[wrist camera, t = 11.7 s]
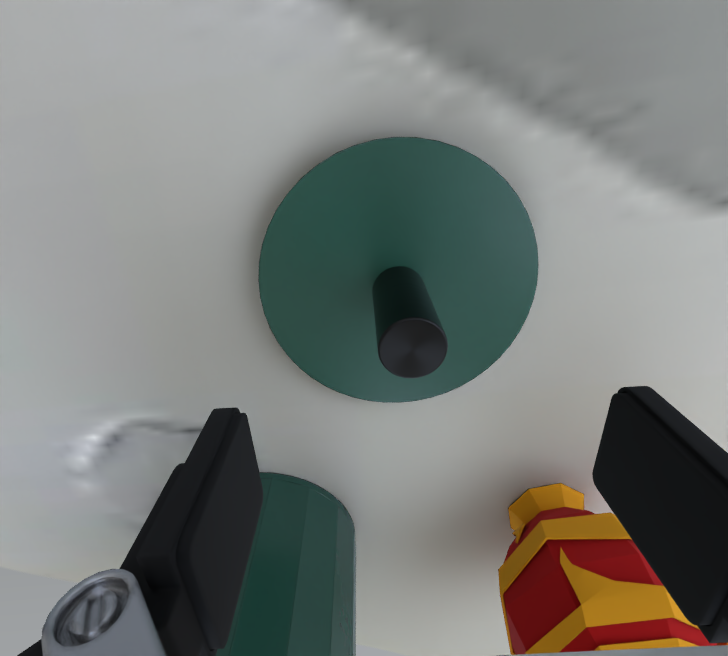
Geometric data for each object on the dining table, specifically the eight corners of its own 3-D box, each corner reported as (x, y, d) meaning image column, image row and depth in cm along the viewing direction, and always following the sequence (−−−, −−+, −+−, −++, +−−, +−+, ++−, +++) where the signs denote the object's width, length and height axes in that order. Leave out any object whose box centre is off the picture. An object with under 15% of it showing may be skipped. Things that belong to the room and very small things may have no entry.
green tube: (160, 477, 25) (-7, 776, 14) (349, 467, 25) (342, 762, 14) (203, 590, 31) (110, 875, 19) (359, 583, 30) (361, 865, 19)
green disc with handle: (240, 145, 17) (176, 156, 11) (548, 127, 17) (654, 129, 11) (283, 395, 23) (257, 492, 17) (512, 384, 22) (569, 477, 16)
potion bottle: (454, 554, 29) (537, 922, 16) (495, 446, 24) (662, 834, 11) (591, 565, 30) (782, 923, 16) (656, 462, 25) (993, 842, 12)
